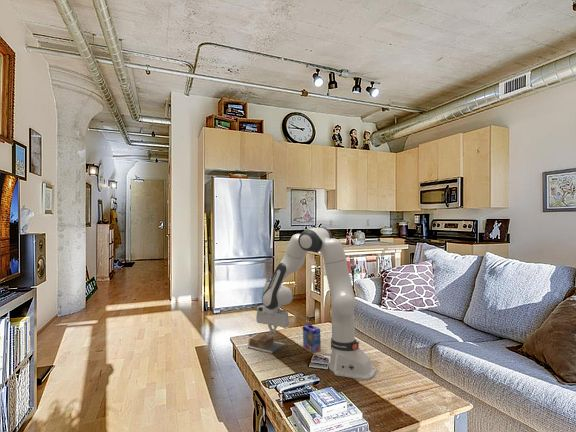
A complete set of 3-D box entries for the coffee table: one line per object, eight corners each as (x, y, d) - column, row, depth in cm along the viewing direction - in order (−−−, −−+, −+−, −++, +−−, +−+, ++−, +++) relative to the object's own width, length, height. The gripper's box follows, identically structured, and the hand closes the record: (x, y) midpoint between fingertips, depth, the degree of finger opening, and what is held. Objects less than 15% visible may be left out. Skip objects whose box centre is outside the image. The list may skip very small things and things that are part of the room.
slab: (273, 336, 192) (257, 333, 197) (264, 341, 184) (248, 338, 190) (273, 343, 192) (257, 340, 197) (264, 349, 184) (248, 345, 190)
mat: (284, 345, 191) (284, 343, 191) (271, 353, 179) (271, 352, 179) (261, 340, 199) (261, 338, 199) (247, 348, 187) (247, 346, 187)
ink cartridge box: (302, 347, 188) (302, 321, 189) (310, 344, 192) (309, 320, 192) (313, 352, 180) (313, 326, 180) (321, 350, 183) (320, 324, 184)
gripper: (290, 308, 185) (291, 333, 185) (260, 304, 195) (261, 328, 195) (285, 311, 180) (285, 337, 179) (254, 307, 190) (255, 331, 190)
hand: (272, 332), depth 187 cm, fingers closed
